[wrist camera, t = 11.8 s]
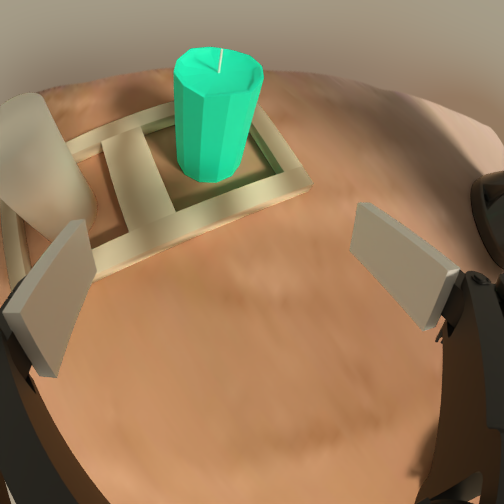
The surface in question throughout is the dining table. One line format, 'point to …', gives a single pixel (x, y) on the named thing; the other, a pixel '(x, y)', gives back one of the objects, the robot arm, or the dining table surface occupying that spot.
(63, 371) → the dining table surface
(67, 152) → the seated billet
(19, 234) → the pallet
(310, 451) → the dining table surface
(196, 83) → the candle
